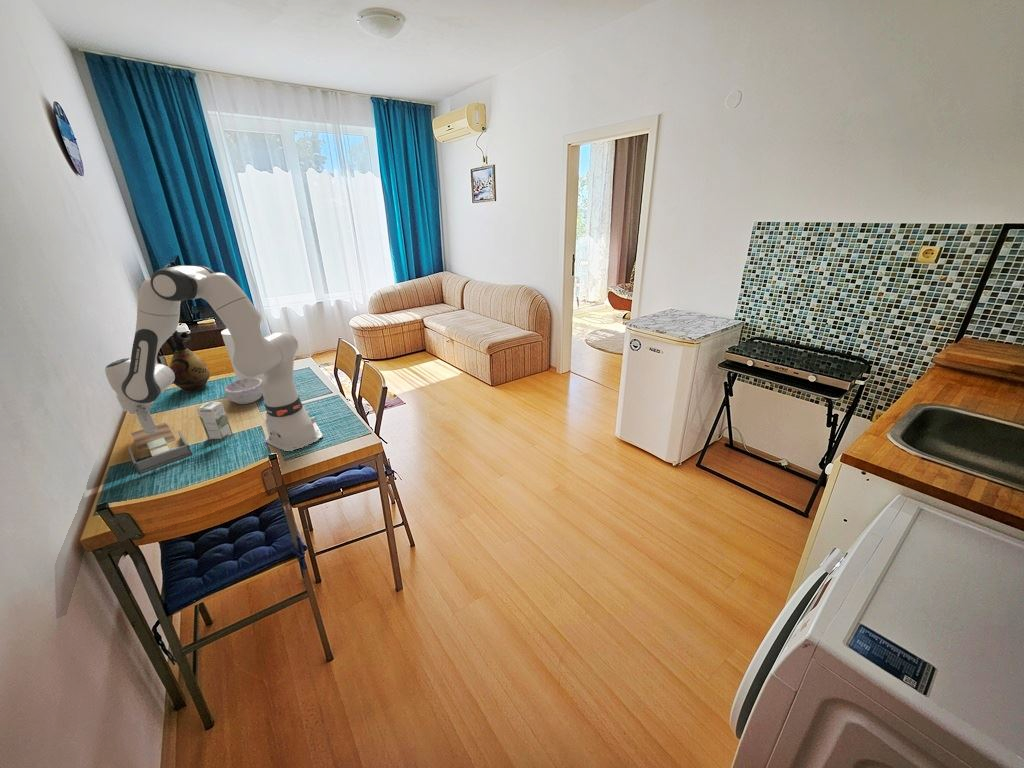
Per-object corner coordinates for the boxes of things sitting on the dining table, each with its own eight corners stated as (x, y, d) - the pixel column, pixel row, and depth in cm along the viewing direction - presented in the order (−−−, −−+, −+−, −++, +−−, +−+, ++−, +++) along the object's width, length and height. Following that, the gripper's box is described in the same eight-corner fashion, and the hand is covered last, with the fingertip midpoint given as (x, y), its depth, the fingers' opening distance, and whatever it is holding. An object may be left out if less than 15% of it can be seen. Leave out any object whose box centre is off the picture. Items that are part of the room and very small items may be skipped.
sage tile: (169, 448, 149) (166, 443, 148) (152, 454, 146) (149, 449, 145) (166, 442, 152) (163, 437, 151) (149, 448, 149) (146, 442, 148)
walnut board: (177, 442, 155) (175, 439, 154) (140, 455, 148) (138, 452, 147) (167, 425, 167) (165, 422, 167) (132, 436, 160) (131, 433, 160)
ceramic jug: (221, 382, 206) (201, 325, 193) (193, 396, 192) (169, 336, 179) (194, 380, 209) (172, 324, 197) (165, 393, 196) (139, 334, 183)
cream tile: (172, 455, 146) (169, 449, 145) (155, 461, 143) (152, 456, 142) (169, 450, 150) (167, 444, 148) (152, 456, 146) (149, 450, 145)
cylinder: (246, 392, 194) (227, 337, 182) (234, 383, 205) (216, 330, 193) (283, 381, 205) (268, 328, 194) (271, 372, 216) (255, 321, 204)
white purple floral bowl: (255, 407, 180) (249, 391, 177) (221, 407, 181) (215, 391, 177) (274, 392, 194) (269, 377, 191) (243, 392, 194) (237, 377, 191)
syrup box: (219, 434, 160) (206, 401, 154) (233, 433, 160) (221, 401, 154) (208, 442, 155) (195, 408, 149) (223, 441, 155) (210, 408, 148)
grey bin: (192, 455, 147) (188, 444, 145) (139, 474, 137) (133, 464, 135) (184, 440, 156) (179, 430, 154) (133, 458, 146) (127, 448, 144)
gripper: (152, 407, 144) (168, 440, 149) (143, 391, 156) (158, 422, 162) (129, 413, 139) (146, 447, 145) (122, 397, 152) (137, 428, 158)
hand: (152, 434), depth 154 cm, fingers closed
